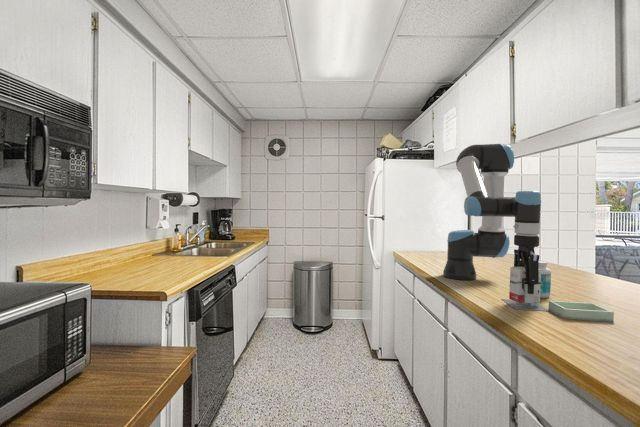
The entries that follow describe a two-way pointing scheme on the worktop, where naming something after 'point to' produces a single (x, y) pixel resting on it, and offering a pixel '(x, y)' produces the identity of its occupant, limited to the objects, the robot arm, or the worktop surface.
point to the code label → (525, 305)
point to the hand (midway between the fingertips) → (524, 299)
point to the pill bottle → (545, 280)
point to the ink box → (521, 285)
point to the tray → (581, 311)
